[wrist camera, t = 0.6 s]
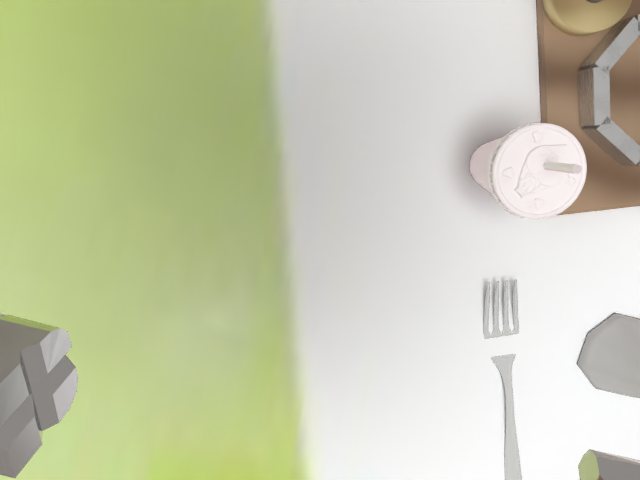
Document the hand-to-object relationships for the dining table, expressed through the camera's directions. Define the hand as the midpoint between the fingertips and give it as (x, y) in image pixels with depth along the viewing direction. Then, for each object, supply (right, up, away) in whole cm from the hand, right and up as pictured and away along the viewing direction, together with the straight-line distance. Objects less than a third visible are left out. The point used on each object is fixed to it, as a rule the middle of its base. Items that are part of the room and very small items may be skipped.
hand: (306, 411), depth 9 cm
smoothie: (+14, +9, +40) cm, 43 cm away
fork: (+17, -12, +44) cm, 48 cm away
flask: (+26, -7, +43) cm, 51 cm away
